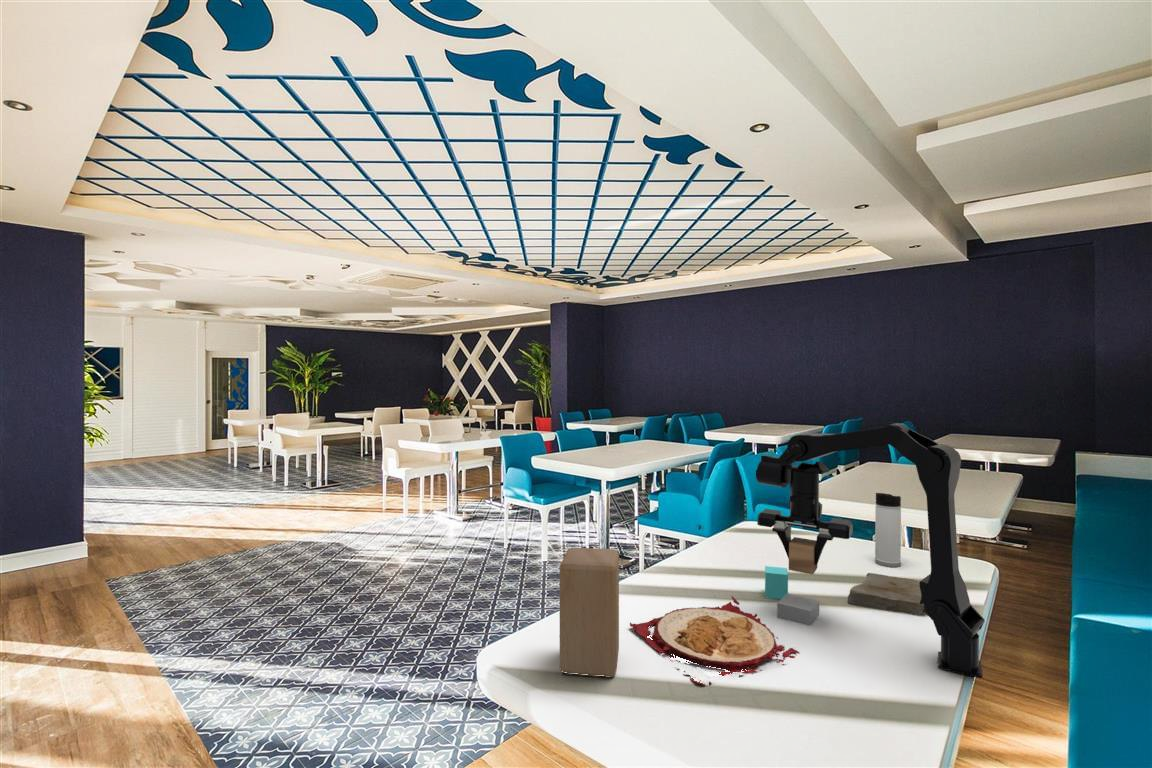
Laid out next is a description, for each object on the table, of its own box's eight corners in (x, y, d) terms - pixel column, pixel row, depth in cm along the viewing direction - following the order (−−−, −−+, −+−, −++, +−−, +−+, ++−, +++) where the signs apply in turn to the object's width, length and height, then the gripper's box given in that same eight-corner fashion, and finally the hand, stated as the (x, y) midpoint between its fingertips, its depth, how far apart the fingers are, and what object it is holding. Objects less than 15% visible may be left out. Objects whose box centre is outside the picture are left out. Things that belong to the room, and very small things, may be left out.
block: (558, 676, 99) (558, 562, 99) (567, 648, 109) (567, 545, 109) (615, 680, 98) (615, 565, 97) (619, 652, 108) (619, 547, 107)
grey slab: (810, 627, 119) (810, 611, 119) (777, 619, 123) (777, 603, 123) (819, 616, 124) (819, 600, 124) (786, 608, 129) (786, 593, 129)
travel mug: (869, 562, 160) (869, 491, 160) (885, 558, 163) (885, 489, 162) (889, 569, 154) (890, 495, 154) (905, 565, 157) (906, 493, 157)
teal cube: (787, 600, 133) (787, 574, 133) (765, 597, 134) (765, 572, 134) (786, 592, 138) (786, 568, 137) (765, 590, 139) (765, 566, 139)
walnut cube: (813, 574, 120) (813, 546, 120) (788, 569, 123) (789, 542, 123) (817, 567, 124) (818, 540, 124) (793, 563, 127) (794, 537, 127)
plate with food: (628, 632, 118) (628, 615, 118) (730, 608, 128) (730, 592, 128) (698, 694, 95) (698, 674, 95) (816, 659, 106) (816, 640, 106)
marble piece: (847, 605, 130) (847, 587, 130) (851, 585, 143) (851, 569, 143) (932, 620, 122) (932, 601, 122) (928, 597, 135) (928, 580, 135)
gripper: (856, 490, 125) (855, 560, 125) (770, 480, 135) (769, 545, 136) (849, 499, 116) (847, 575, 116) (757, 488, 126) (756, 557, 126)
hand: (803, 562), depth 124 cm, fingers closed on walnut cube, 5 cm apart
